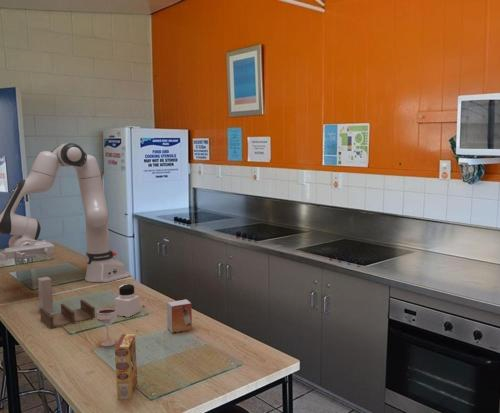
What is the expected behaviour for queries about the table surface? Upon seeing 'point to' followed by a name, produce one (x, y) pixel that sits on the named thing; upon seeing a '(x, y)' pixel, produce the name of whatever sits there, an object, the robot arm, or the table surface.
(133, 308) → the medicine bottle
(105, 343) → the wineglass
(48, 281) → the tall gray rectangular block
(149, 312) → the table surface
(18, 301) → the table surface
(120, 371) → the candy box
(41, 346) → the table surface
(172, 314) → the small box
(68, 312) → the rack
